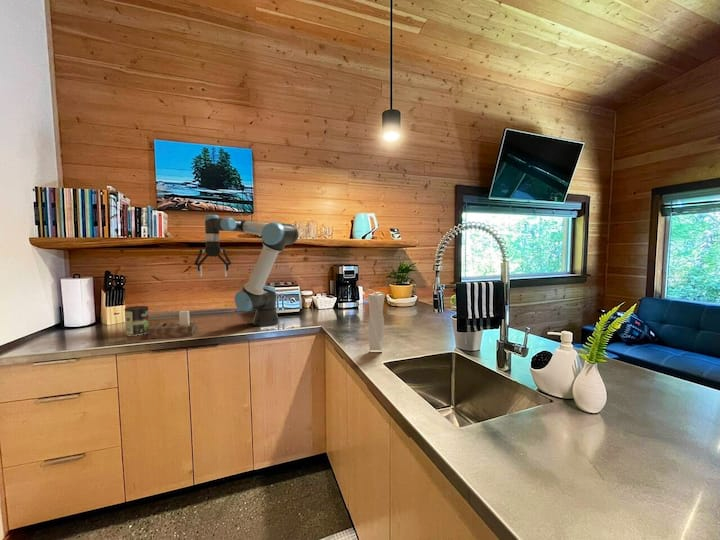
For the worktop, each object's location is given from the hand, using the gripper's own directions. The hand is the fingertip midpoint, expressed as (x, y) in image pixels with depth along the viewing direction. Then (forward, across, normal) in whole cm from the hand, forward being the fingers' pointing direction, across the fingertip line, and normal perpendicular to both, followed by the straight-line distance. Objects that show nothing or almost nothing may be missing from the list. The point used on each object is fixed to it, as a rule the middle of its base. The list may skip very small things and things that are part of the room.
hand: (213, 276), depth 192 cm
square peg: (+29, +12, +20) cm, 37 cm away
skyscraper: (+29, -77, +76) cm, 112 cm away
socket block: (+29, +17, +20) cm, 39 cm away
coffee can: (+29, +36, +14) cm, 48 cm away
